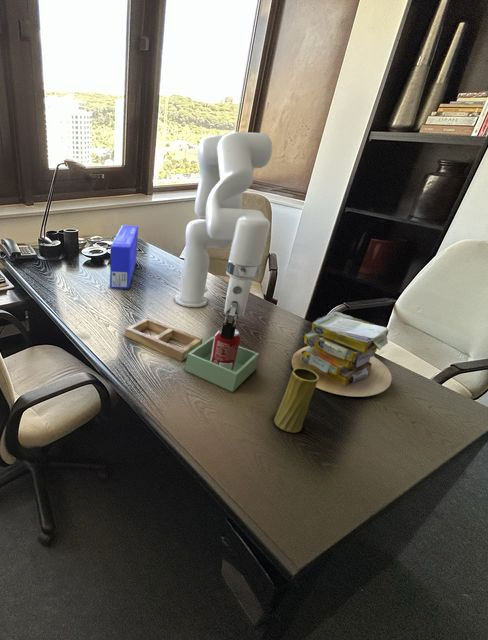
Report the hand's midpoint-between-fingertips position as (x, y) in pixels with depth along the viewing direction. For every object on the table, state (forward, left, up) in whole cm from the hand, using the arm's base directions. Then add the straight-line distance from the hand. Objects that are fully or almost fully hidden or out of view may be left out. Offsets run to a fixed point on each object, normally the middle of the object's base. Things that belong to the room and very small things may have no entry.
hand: (228, 330), depth 100 cm
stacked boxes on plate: (-23, +26, -13) cm, 37 cm away
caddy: (-2, -21, -13) cm, 25 cm away
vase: (+10, +23, -13) cm, 28 cm away
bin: (0, 0, -13) cm, 13 cm away
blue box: (-43, -71, -13) cm, 84 cm away
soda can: (0, 0, -12) cm, 12 cm away
